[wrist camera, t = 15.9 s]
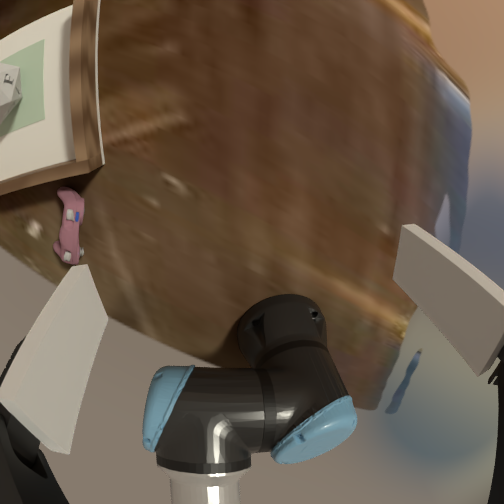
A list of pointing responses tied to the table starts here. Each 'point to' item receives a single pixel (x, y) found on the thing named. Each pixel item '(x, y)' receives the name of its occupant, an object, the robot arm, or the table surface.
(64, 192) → the video game controller
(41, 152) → the wooden corner tray
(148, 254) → the table surface
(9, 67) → the die
